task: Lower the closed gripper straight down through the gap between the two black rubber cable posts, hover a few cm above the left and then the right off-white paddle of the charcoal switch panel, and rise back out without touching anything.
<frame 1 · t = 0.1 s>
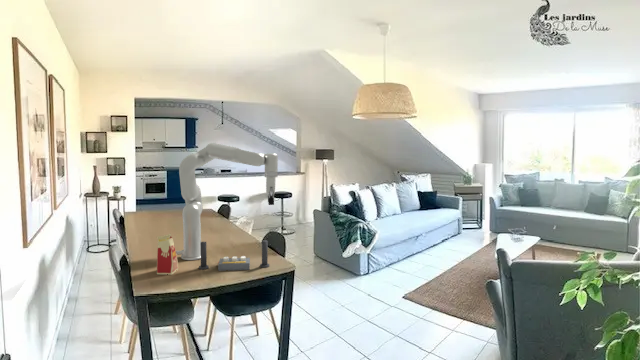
hand: (270, 203, 234), 31 cm above the table, fingers open, 9 cm apart
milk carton: (166, 272, 204), on the table
right cable post: (264, 266, 216), on the table
switch panel: (234, 268, 213), on the table
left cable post: (203, 268, 211), on the table
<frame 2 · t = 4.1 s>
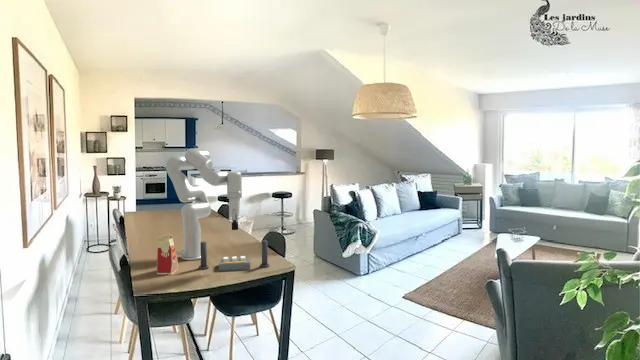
hand: (235, 229, 211), 21 cm above the table, fingers closed
nothing on the table moved.
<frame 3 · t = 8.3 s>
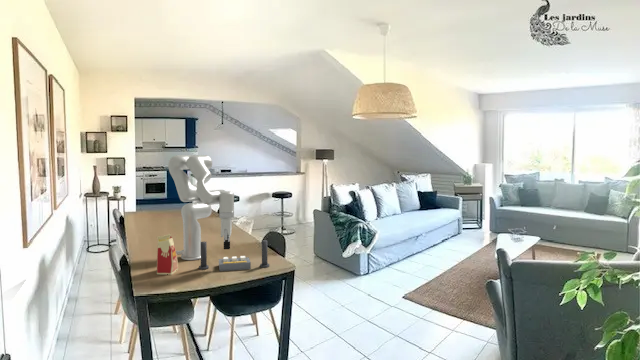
hand: (226, 248, 212), 10 cm above the table, fingers closed
nothing on the table moved.
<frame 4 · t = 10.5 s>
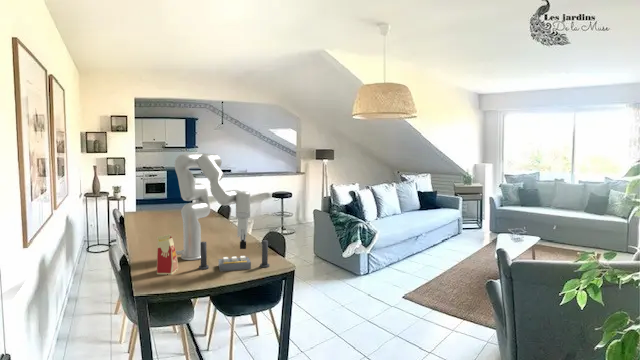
hand: (243, 248, 213), 10 cm above the table, fingers closed
nothing on the table moved.
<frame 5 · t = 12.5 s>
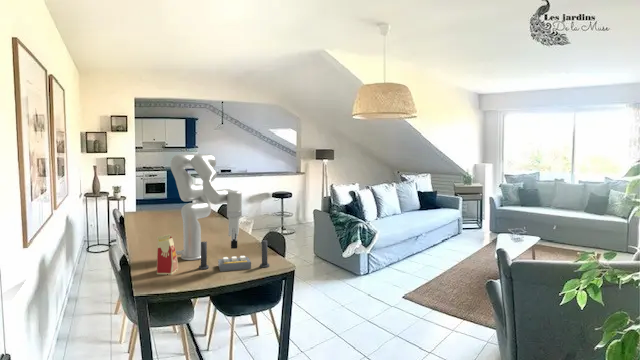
hand: (234, 248, 212), 10 cm above the table, fingers closed
nothing on the table moved.
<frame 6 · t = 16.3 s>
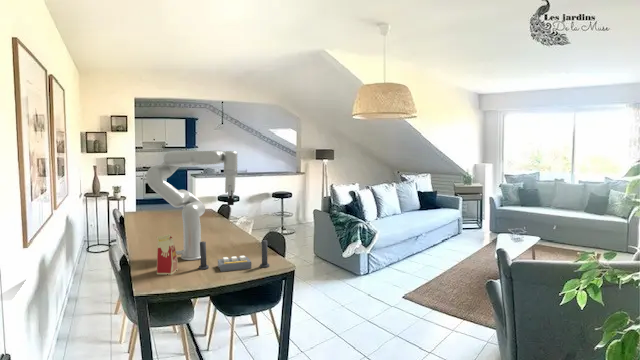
hand: (230, 204, 227), 31 cm above the table, fingers closed
at the end: switch panel moved 0.5 cm from its start; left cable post tilted 1°; right cable post tilted 1° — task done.
